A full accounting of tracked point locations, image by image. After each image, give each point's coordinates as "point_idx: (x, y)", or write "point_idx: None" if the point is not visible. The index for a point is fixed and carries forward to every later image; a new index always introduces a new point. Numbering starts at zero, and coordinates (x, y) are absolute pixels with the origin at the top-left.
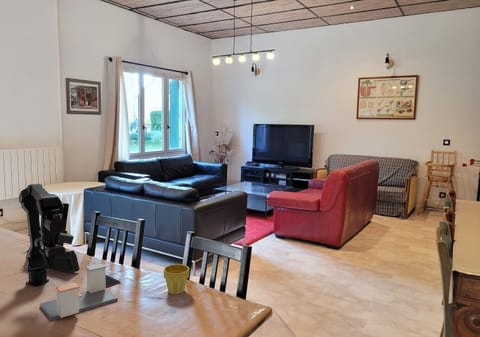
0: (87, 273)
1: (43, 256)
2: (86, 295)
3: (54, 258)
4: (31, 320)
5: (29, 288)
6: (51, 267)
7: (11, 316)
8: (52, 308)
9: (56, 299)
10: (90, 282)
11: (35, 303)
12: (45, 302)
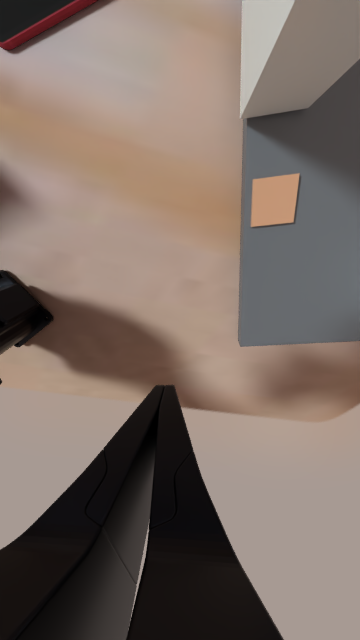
0: (316, 18)
1: (138, 570)
2: (304, 144)
3: (199, 472)
4: (315, 373)
5: (63, 340)
6: (174, 388)
7: (248, 403)
8: (315, 322)
9: (244, 293)
10: (356, 58)
11: (201, 346)
12: (243, 331)
